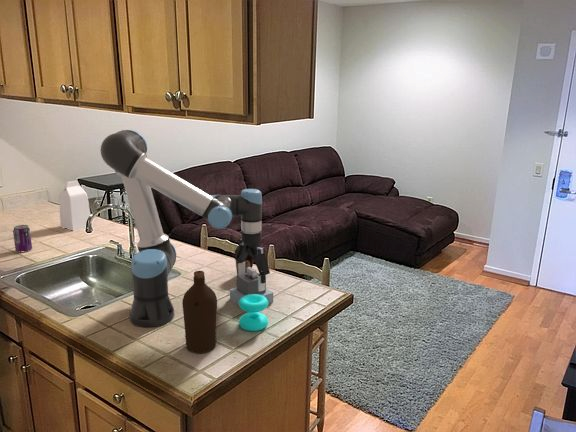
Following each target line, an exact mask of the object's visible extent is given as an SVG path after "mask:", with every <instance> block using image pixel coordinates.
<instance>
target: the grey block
mask: <svg viewBox="0 0 576 432" xmlns="http://www.w3.org/2000/svg"><path fill="white" fill-rule="evenodd" d="M258 275H259V272H257V271H256V279H253V280H251V279H250V278H248V277H247V273H244V274H240V275H237V274H236V288H237V291H239V292H240V293H242V294H244V295H249V294H261V293H265V292H266V289H267V282H266V283H265V290H263V291H260V292H259V291H258Z"/></svg>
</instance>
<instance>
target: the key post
mask: <svg viewBox="0 0 576 432" xmlns="http://www.w3.org/2000/svg"><path fill="white" fill-rule="evenodd" d="M256 272H257V269H255V268H253V267H252V268H251V267H248V268H247V277H248V278H250V279H251V280H253V279H256Z"/></svg>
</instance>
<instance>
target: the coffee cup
mask: <svg viewBox="0 0 576 432" xmlns="http://www.w3.org/2000/svg"><path fill="white" fill-rule="evenodd" d="M235 248H236V249H235V250H234V256H235V255H236V251H237V248H238V246H236V247H235ZM243 262H245V273H247V268H248V267H251V268H253V266H254V259H252V256H250V255H248V256H247V257H246V259H245V260H244V261H243ZM235 269H236V276H237V275H238V262H237V260H235Z"/></svg>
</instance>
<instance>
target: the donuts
mask: <svg viewBox="0 0 576 432" xmlns="http://www.w3.org/2000/svg"><path fill="white" fill-rule="evenodd" d="M268 305H269V304H268V300H267V298H266V297H264V296H262V295H259V294H249V295H245V296H243V297H242V298H241V299H240V300H239V308H240V309H241V310H242V311H243V312H245V313H244V314H243V315H241V316H240V318H239V320H238V325H239V326H240V328H242V329H243V330H245V331H249V332H258V331H261V330H263V329H265V328H266V327H267V326H268V323H269V319H268V317H267V316H266V315H265V314H264V313H261V312H262V311H265V310H266V309H267V308H268Z"/></svg>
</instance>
